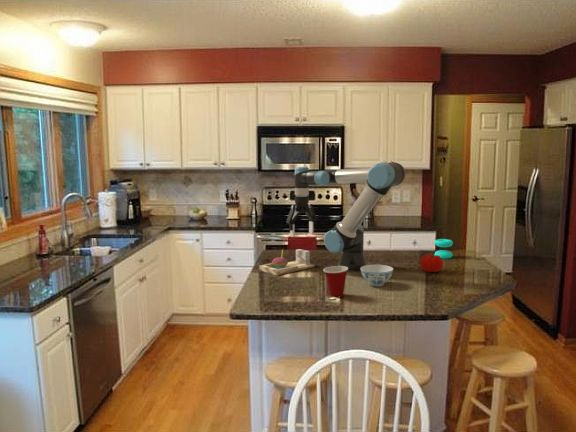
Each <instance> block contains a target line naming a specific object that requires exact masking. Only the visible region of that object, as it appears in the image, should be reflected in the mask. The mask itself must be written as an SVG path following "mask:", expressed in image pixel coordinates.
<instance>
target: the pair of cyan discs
mask: <svg viewBox="0 0 576 432" xmlns="http://www.w3.org/2000/svg"><path fill="white" fill-rule="evenodd" d="M434 244H435V246H437V247H440V248H450V247H452V246H453V244H454V242H453V240H452V239H447V238H438V239H436V240H434ZM433 255H434V256H436V255H438V256H440V258H441V260H442V259H444V260H445V259H447V260H448V259H451V258H452V257H453V256H454V255H453V253H452V251H449V250H445V249H444V250H443V249H442V250H441V249H439V250H436V251H435V253H434V254H433Z"/></svg>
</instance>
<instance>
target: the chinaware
mask: <svg viewBox="0 0 576 432" xmlns="http://www.w3.org/2000/svg"><path fill="white" fill-rule="evenodd" d="M393 272H394V268H393V267H392V266H389V265H385V264H367V265H365V266H362V267H361V269H360V273H361V275H362V277H363V279H364V280H365V281H366V282H367V283H368V284H369V285H370V286H371V287H383V286H384V285H385V283H387V282H388V281H390V279H391V278H392V275H393Z"/></svg>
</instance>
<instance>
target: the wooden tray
mask: <svg viewBox="0 0 576 432" xmlns="http://www.w3.org/2000/svg"><path fill="white" fill-rule="evenodd" d="M310 257H311V256H310V250H306V249H300V248H298V249H295V260H292V261H288V264H287V265H286V267H285V268H281V269H275V267H274V265H272V262H270V263H266V264H265V263H264V264H260V265H258V270H259V271H261V272H265V273H267V274H271V275H274V276H281V275H284V274H290V273H293V272H297V271H298V272H299V271H302V270H306V269H307V270H308V269H311V268H315V267H316V265H315V264H312V263H311V261H310V260H311V258H310Z"/></svg>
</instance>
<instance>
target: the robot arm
mask: <svg viewBox="0 0 576 432" xmlns="http://www.w3.org/2000/svg"><path fill="white" fill-rule="evenodd" d="M406 175H407V174H406V169H405V168H404V166H403V165H402V164H401V163H398V162H396V161H395V162H392V161H391V162H378V163H376V164H374V165H373V166H371V167H362V168H361V167H359V168H344V169H343V168H342V169H341V168H339V169H327V170H310V169H309V167H308V166H296V167H295V169H294V203H295V205H290V209H289V210H290V211H289V213H288V215H287V218H286V222H285V223H286V224H287V225H289V226H288V229H289V235H290V236H289V237H293V238H295V234H296V233H295V222H296V220H297V218H298V216H299V215H301V214H305V215H306V217H307V218H308V220H309V221H308V233H309V234H310V235H311V234H312V235H313V234H314V228H315V222H316V221H317V220H318V218H317V214H316V212H315V210H314V206H313V203H309V202H310V197H309V194H310V189H309V188H310V186H317V187H318V186H319V187H323V186H324V187H325V186H327V185H334V184H335V185H336V184H337V185H338V184H361V183H362V184H365V188H364V189H363V190H362V192H361V193H360V195H359V196H358V197H357V199H356V200H355V202H354V203H353V205H352V206H351V207H350V209H349V210H348V212H347V213H346V215H345V216H344V218H343V219H342V220H341V221H338V222H336V224H335V225H334V226H333V228H332V229H331V230H329V231H327V232H326V233H325V234H324V237H323V242H324V246H325V248H326V249H327V251H329V252H330V253H333V254H339V253H340V256H339V259H338V262H337V263H338V265H337V266H346V267H348V270H349V271H351V270H353V271H354V270H355V271H356V270H361V267H362V266H365V265H368V263H367V261H366V255H365V253H364V237H365V236H364V233H365V230H364V226H363V225H362V223H363V222H364V220H365V219H366V218H367V216H368V215H369V213H370V212H372V209H374V207H375V205H376V204H377V203H378V201H379V199H380V198H381V197H382V196H386V195H387V194H388V193H389V191H390V190H391V189H392V187H397V186H400V185H401V184H403V182H404V180H405V179H406Z"/></svg>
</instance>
